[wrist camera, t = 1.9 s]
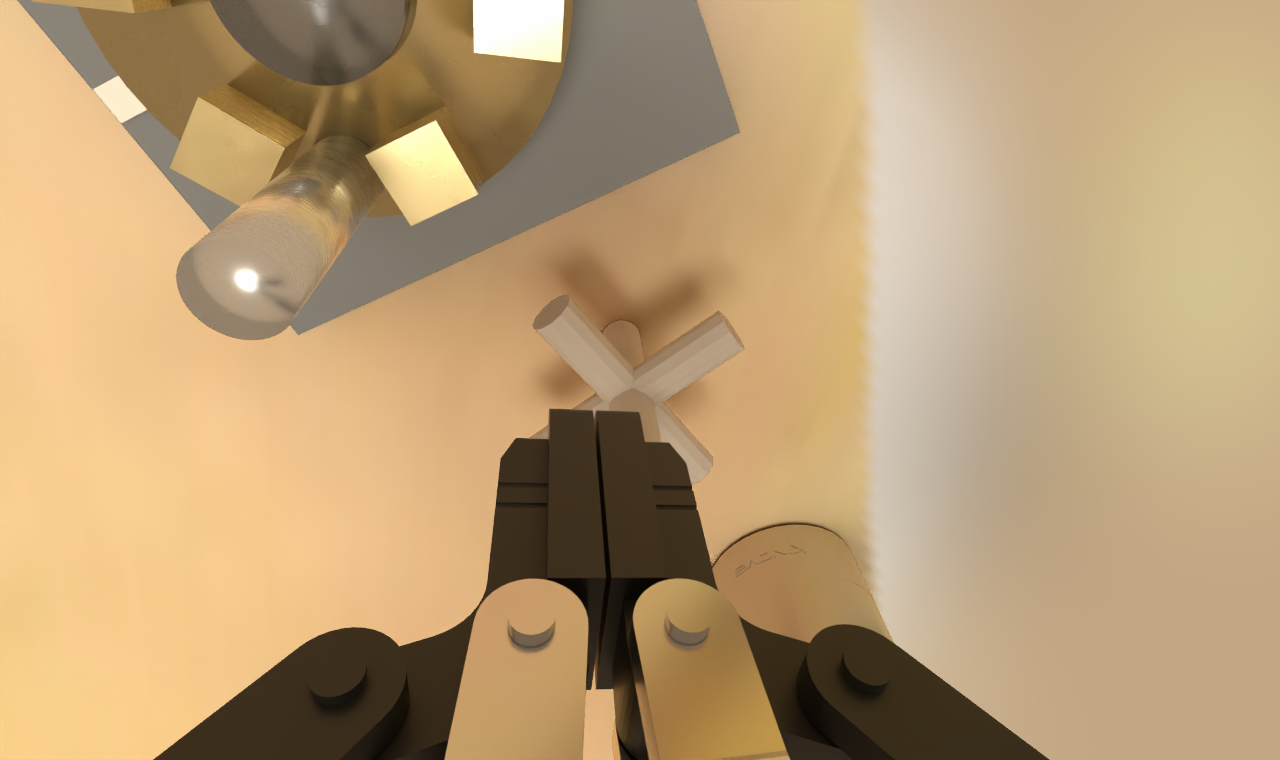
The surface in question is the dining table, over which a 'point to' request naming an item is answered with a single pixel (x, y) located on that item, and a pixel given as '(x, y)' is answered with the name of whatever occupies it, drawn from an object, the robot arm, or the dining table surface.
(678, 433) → the pipe connector
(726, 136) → the base plate
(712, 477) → the dining table surface
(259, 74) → the brass lugged hub
